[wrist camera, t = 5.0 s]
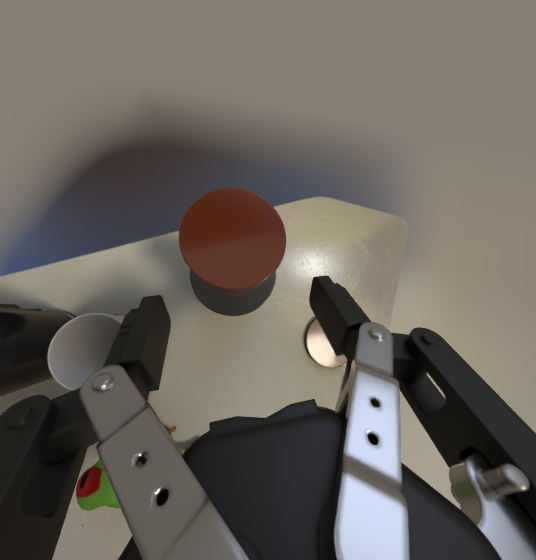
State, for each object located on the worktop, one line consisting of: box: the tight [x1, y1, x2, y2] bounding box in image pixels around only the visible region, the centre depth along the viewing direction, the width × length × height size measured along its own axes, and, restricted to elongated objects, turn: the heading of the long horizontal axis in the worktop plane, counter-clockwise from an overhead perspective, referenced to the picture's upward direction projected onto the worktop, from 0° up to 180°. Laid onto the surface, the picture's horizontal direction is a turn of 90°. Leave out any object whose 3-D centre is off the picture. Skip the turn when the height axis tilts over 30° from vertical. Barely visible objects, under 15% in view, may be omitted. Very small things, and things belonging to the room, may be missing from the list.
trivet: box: [305, 318, 347, 368], centre depth 37 cm, size 9×9×1 cm
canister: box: [179, 188, 286, 299], centre depth 18 cm, size 6×6×12 cm
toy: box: [76, 426, 188, 510], centre depth 26 cm, size 14×9×10 cm, turn 106°
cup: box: [48, 313, 125, 391], centre depth 27 cm, size 8×8×10 cm
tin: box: [190, 269, 276, 316], centre depth 30 cm, size 10×10×12 cm
